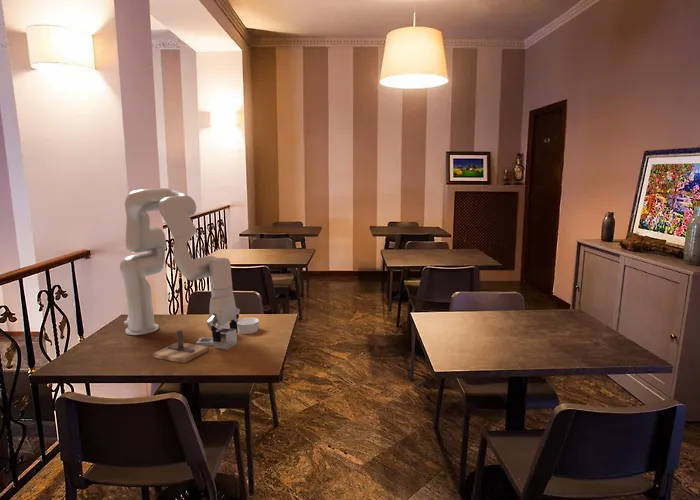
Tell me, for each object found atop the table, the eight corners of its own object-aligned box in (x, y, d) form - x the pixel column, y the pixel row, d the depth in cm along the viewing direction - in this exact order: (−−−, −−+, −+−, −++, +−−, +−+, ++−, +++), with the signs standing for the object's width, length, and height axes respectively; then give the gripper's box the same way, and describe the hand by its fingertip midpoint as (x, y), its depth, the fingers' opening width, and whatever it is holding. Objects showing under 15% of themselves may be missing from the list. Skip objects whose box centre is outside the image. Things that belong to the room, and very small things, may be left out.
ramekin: (257, 334, 188) (256, 324, 188) (234, 335, 189) (234, 324, 188) (261, 327, 197) (261, 317, 196) (240, 327, 197) (239, 317, 197)
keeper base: (153, 357, 167) (151, 334, 166) (178, 345, 178) (176, 323, 177) (184, 363, 162) (182, 339, 160) (208, 350, 173) (206, 328, 171)
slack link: (196, 346, 177) (195, 342, 177) (200, 340, 183) (200, 337, 183) (212, 345, 177) (211, 342, 177) (216, 339, 183) (216, 336, 183)
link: (213, 347, 175) (212, 332, 174) (224, 342, 181) (223, 327, 180) (226, 349, 173) (225, 334, 172) (237, 344, 178) (236, 328, 177)
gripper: (228, 286, 182) (232, 328, 185) (197, 297, 167) (201, 344, 170) (244, 287, 179) (248, 330, 182) (214, 299, 164) (218, 346, 167)
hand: (225, 337), depth 176 cm, fingers open, 9 cm apart
